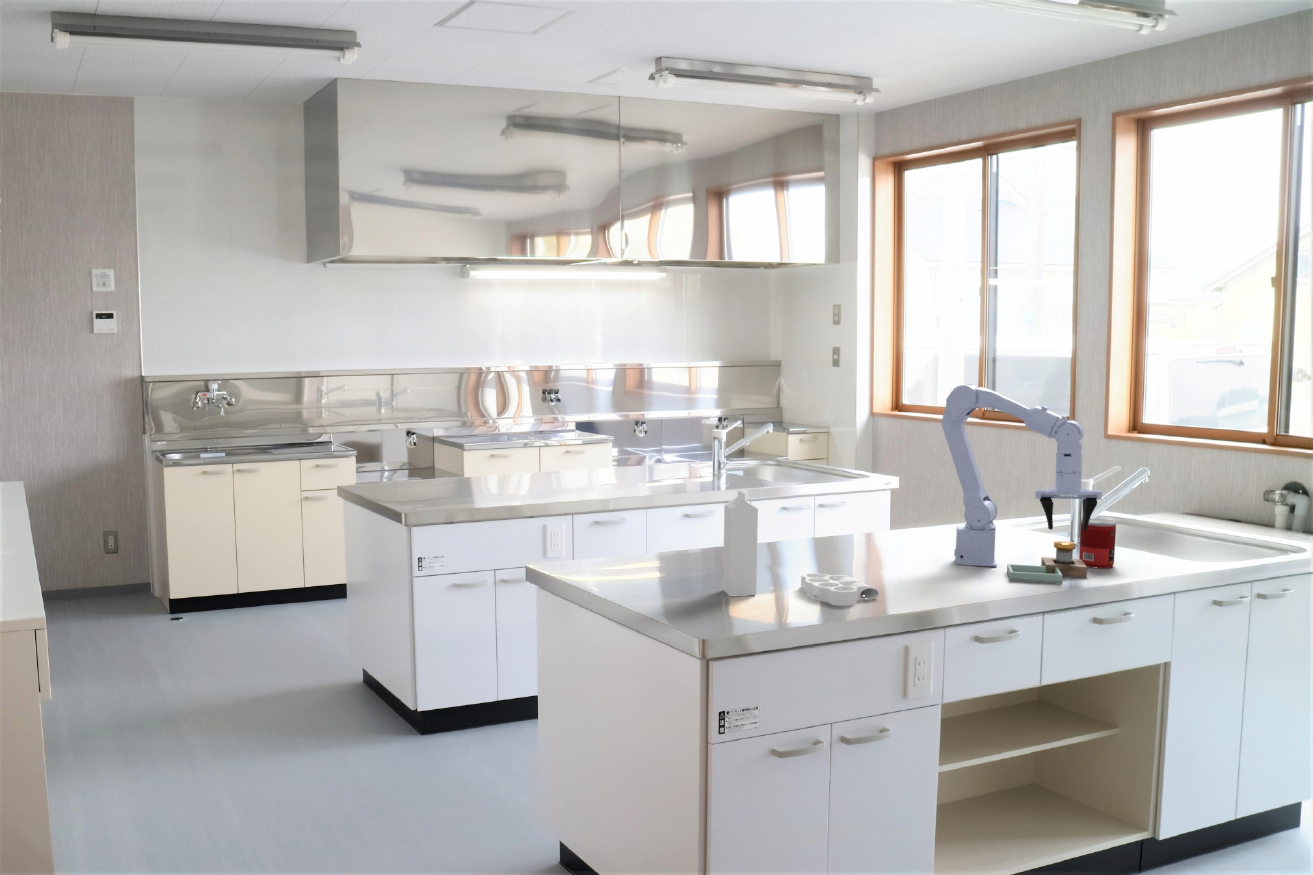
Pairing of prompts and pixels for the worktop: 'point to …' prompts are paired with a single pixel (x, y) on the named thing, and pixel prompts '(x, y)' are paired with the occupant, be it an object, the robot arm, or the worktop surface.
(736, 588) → the milk
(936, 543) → the worktop surface
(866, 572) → the worktop surface
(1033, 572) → the tray
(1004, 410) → the robot arm
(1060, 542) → the pin
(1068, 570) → the socket block
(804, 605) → the worktop surface
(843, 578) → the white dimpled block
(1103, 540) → the canned food
